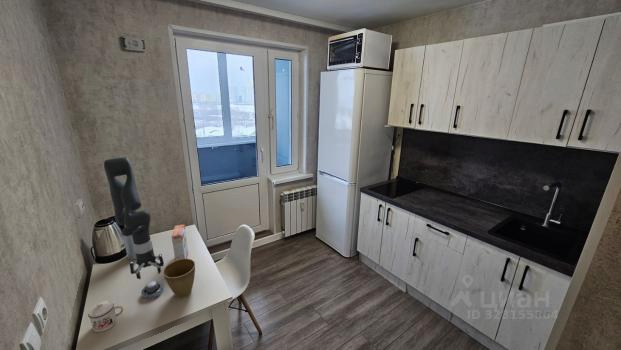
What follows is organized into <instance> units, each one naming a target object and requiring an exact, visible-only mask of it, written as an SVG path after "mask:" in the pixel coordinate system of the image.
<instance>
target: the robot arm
mask: <svg viewBox="0 0 621 350" xmlns="http://www.w3.org/2000/svg"><path fill="white" fill-rule="evenodd" d="M103 169H104V172H105V175H106V178H107V181H108V185H109V193H110V196H111V201H112V204H113V205H112V206H113V209H114V219H115V221H116V224H117V225H119V226H123V225H124V226H125V227H124V228H122V230H121V235H122V239H123V243H124V248H125V250H126V256H127V259H128V260H130V263H129V269H130V270H129V271H130V274H131V275H133V274H135V276H136V279H137V280H141V279H142V278H141V272H140V271H141V270H142V269H144V268H148V267H152V266H153V267H156V269H157V274H158V275H159V274H161V273H162V267H163V266H164V265H165V262H164V257H163V255H162V253H159V255H155V251H154V246H153V241H152V239H151V235H150V234H151V233H150V224H151V218H152V217H151V213H150V212H149V211H148V210H144V209H143V210H140V211H137V210H139V209H140V208H141V207H142V202H141V198H140V195H139V193H138V189H137V185H136V179H135V174H134V170H133V167H132V163H131V160H130V159H129V158H128V157H126V156H124V157H122V156H121V157H114V158H109V159H105V160H104V162H103ZM121 176H126V180H125V182H123V181H122V180H120V179H118V178H117V177H121ZM134 260H135V261H134ZM157 260H158V261H159V262H160V263H159V262H158V261H157ZM135 265H138V266H137V267H136V269H135Z"/></svg>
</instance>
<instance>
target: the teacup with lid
mask: <svg viewBox="0 0 621 350" xmlns="http://www.w3.org/2000/svg"><path fill="white" fill-rule="evenodd" d="M117 309H121V310H120V312H118V313H117V312H116V310H117ZM123 312H124V307H123V306H122V305H117V306H115V303H114V302H113V301H111V300H110V301H109V300H105V301H101V302H99V303H96V304H95V305H93V306H92V307H91V308H90V309H89V310H88V313H87V317H89V319H90V324H91V327H92V329H93V332H96V333H103V332H105V331H107V330H109V329H111V328H112V327H114V326H115V325H116V323H117V322H118V317H119V316H120V315H122V314H123Z"/></svg>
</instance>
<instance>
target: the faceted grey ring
mask: <svg viewBox="0 0 621 350" xmlns="http://www.w3.org/2000/svg"><path fill="white" fill-rule="evenodd" d="M157 282H158V286H159V289H158V290H157V291H156V292H154V293H151V294H147V292H146V288H145V286H144V287H142V289H141V298H142V299H144V300H153V299H156V298H158V297H159V296H161V295H162V294H163V292H164V285H163V283H162V282H160V281H157Z"/></svg>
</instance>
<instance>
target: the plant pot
mask: <svg viewBox="0 0 621 350" xmlns="http://www.w3.org/2000/svg"><path fill="white" fill-rule="evenodd" d="M195 272H196V263H195V261H194V260H193V259H190V258H187V259H179V260H176V261H175V260H174V261H172V262H170V263H168V264H167V265H165V267H164V268H163V270H162V275H163V277H164V280H165V281H166V283H167V286H168V287H169V289H170V290H171V291H172V293H173V295H175V297H176V298H180V299H181V298H185V297H188V296H190V294H191V292H192V289H193V287H194V286H193V285H194V281H195V275H196V273H195Z"/></svg>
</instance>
